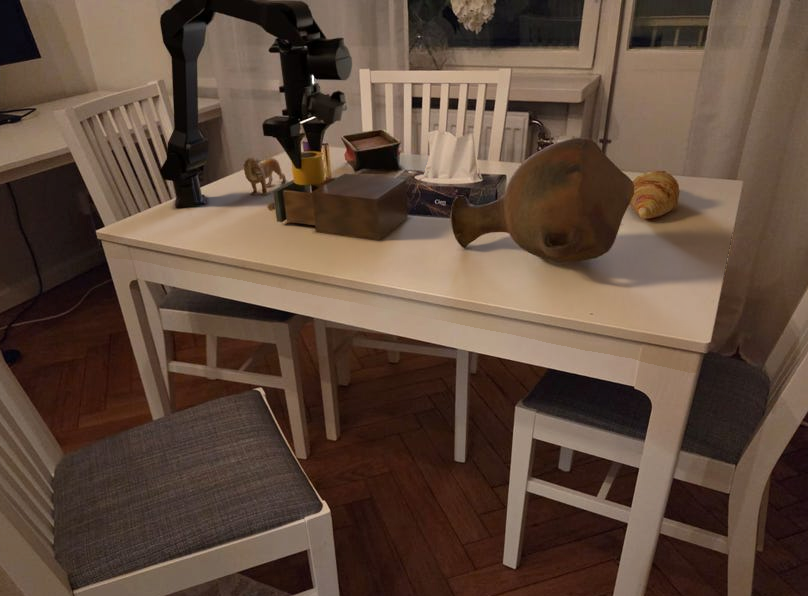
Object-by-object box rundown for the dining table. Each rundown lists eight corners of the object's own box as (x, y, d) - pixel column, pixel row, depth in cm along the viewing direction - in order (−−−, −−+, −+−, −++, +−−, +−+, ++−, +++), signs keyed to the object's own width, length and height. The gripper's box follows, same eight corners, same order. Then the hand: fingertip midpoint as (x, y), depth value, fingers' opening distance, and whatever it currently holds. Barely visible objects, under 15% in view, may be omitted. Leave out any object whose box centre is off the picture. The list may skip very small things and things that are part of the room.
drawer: (260, 219, 130) (255, 188, 127) (292, 201, 139) (288, 172, 135) (332, 229, 123) (329, 196, 120) (360, 210, 132) (358, 179, 128)
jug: (644, 251, 108) (483, 252, 124) (648, 131, 103) (479, 148, 119) (614, 273, 92) (435, 270, 108) (617, 132, 86) (427, 151, 103)
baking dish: (350, 185, 156) (351, 146, 149) (338, 157, 169) (339, 119, 163) (406, 183, 159) (409, 144, 152) (391, 155, 172) (393, 118, 165)
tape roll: (292, 178, 129) (289, 152, 126) (322, 174, 130) (320, 149, 127) (295, 186, 124) (292, 160, 121) (327, 183, 125) (325, 157, 122)
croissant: (657, 242, 120) (686, 208, 115) (612, 213, 121) (639, 179, 115) (665, 204, 136) (691, 173, 131) (625, 179, 137) (649, 147, 131)
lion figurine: (263, 200, 143) (257, 160, 138) (243, 199, 145) (236, 159, 140) (290, 181, 155) (285, 143, 150) (271, 180, 156) (265, 143, 152)
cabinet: (316, 231, 124) (311, 192, 120) (347, 210, 134) (344, 173, 130) (378, 240, 119) (376, 199, 115) (407, 218, 129) (406, 179, 124)
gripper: (307, 89, 106) (317, 180, 115) (360, 72, 120) (365, 155, 129) (254, 87, 111) (267, 175, 119) (310, 71, 125) (319, 151, 133)
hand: (307, 164), depth 125 cm, fingers closed on tape roll, 6 cm apart
